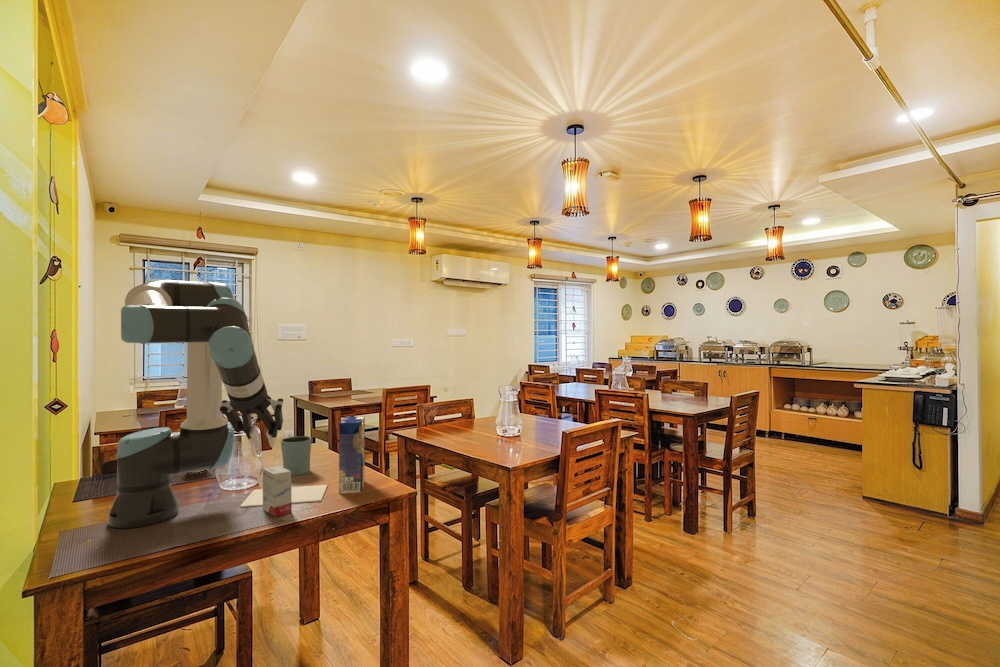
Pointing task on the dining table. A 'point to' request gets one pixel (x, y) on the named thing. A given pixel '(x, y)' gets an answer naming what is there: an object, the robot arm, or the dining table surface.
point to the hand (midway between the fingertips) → (265, 442)
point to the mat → (297, 495)
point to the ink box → (277, 490)
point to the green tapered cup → (296, 454)
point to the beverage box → (351, 454)
